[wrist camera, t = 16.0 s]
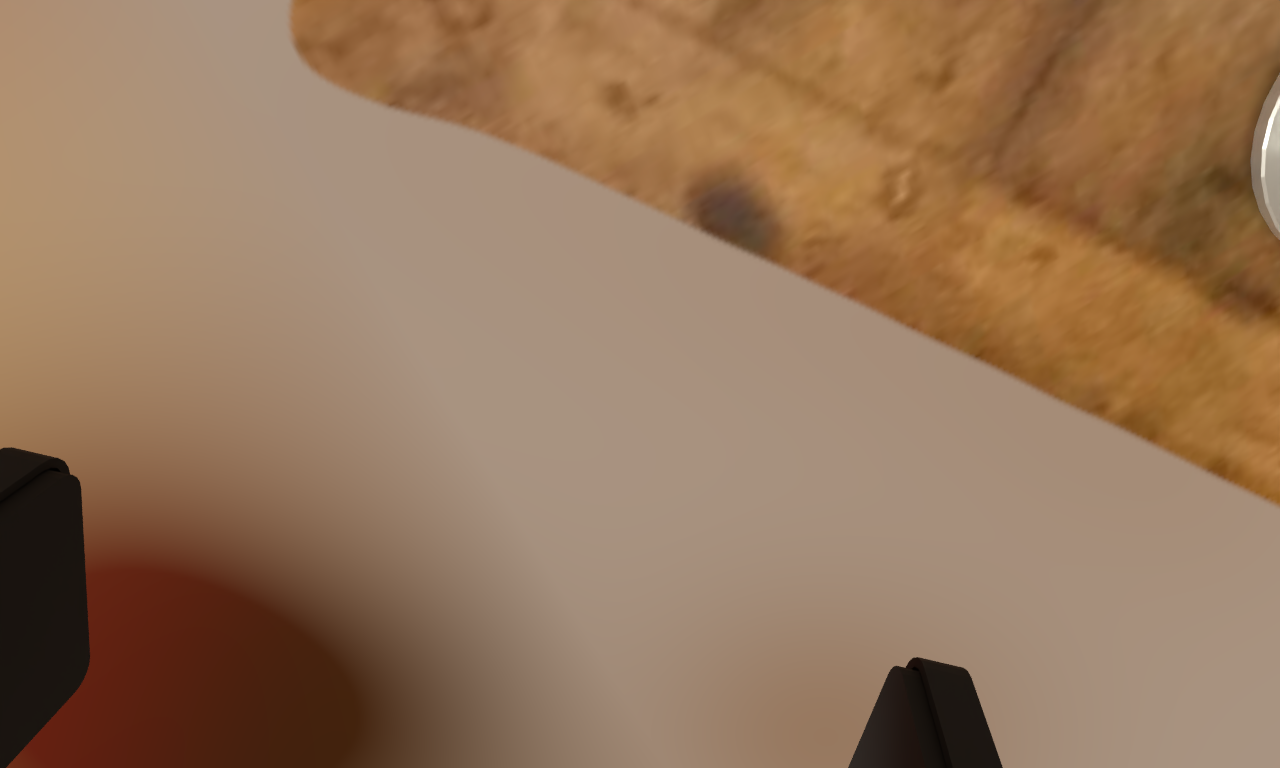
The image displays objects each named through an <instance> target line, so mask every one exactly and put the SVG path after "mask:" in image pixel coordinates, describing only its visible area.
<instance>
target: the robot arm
mask: <svg viewBox="0 0 1280 768" xmlns="http://www.w3.org/2000/svg"><path fill="white" fill-rule="evenodd" d="M1251 173H1252V187H1253V191H1254V194H1255V197H1256V201H1257V204H1258V207H1259V211H1260V213H1261V214H1262V216H1263V218H1264V219H1265V221H1266V223H1267V225H1268V226H1269V228H1270V230H1271V231H1272V233H1273V234H1274V235H1275V236H1276V237H1277V238H1278V239H1279V240H1280V73H1279V75H1278V77H1277V79H1276V81H1275V83H1274V85H1273V86H1272V88H1271V90H1270V92H1269V94H1268V96H1267V98H1266V99H1265V102H1264V105H1263V108H1262V111H1261V114H1260V117H1259V119H1258V122H1257V125H1256V128H1255V132H1254V139H1253V146H1252V153H1251ZM89 660H90V648H89V630H88V611H87V592H86V573H85V554H84V535H83V516H82V497H81V486H80V482H79V480H78V478H77V477H75V476H73V475H70V472H69V468H68V466H67V465H66V463H65V461H63V460H61V459H59V458H54V457H51V456H46V455H42V454H38V453H33V452H29V451H25V450H20V449H16V448H2V449H0V768H6V767H7V766H8V765H9V764H10V763H11V761H13V759H14V758H15V757H16V756H17V755H18V754H19V753H20V752H21V751H22V750H23V749H24V747H25V746H26V745H27V744H28V743H29V742H30V741H31V740H32V739H33V737H35V735H36V734H37V733H38V732H39V731H40V730H41V729H42V728H43V727H44V725H45V724H46V723H47V722H48V721H49V720H50V719H51V718H52V717H53V716H54V715H55V714H56V713H57V711H58V710H59V709H60V708H61V707H62V706H63V705H64V704H65V703H66V701H67V700H68V699H69V698H70V697H71V696H72V695H73V694H74V693H75V692H76V690H77V689H78V688H79V686H80V685H81V683H82V681H83V680H84V677H85V675H86V673H87V670H88V666H89V662H90V661H89ZM848 768H1003V767H1002V765H1001V762H1000V759H999V756H998V753H997V750H996V747H995V744H994V742H993V739H992V736H991V733H990V730H989V727H988V725H987V722H986V719H985V716H984V713H983V710H982V707H981V704H980V701H979V699H978V696H977V693H976V690H975V687H974V685H973V681H972V678H971V677H970V674H969V673H968V671H967V670H966V669H964V668H962V667H957V666H953V665H949V664H944V663H940V662H936V661H931V660H927V659H923V658H918V657H917V658H912V660H910V661H909V663H908V665H907V666H906V668H904V667H899V666H894V667H893V668H892V669H891V670H890V672H889V674H888V676H887V678H886V681H885V683H884V686H883V688H882V690H881V692H880V695H879V697H878V700H877V702H876V704H875V706H874V709H873V711H872V714H871V716H870V718H869V720H868V723H867V725H866V728H865V730H864V732H863V735H862V737H861V739H860V741H859V744H858V746H857V748H856V751H855V753H854V755H853V758H852V760H851V762H850V765H849V767H848Z"/></svg>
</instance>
